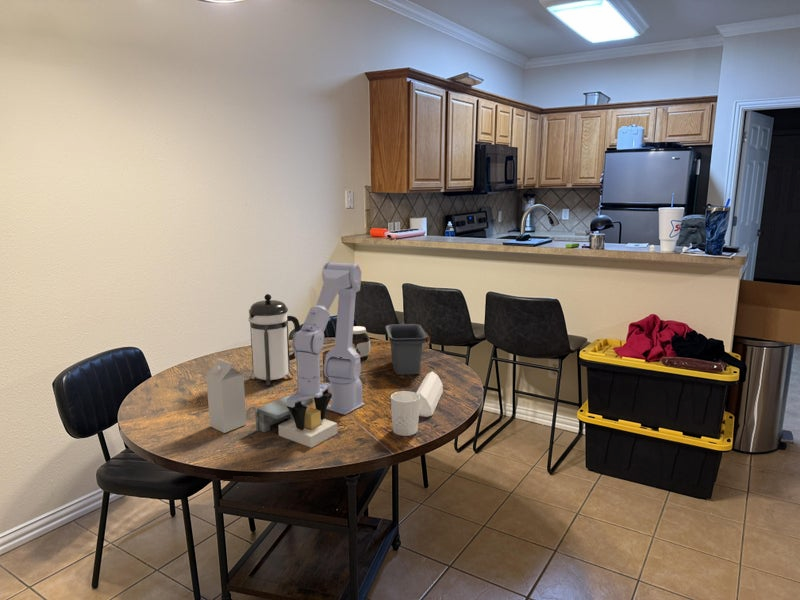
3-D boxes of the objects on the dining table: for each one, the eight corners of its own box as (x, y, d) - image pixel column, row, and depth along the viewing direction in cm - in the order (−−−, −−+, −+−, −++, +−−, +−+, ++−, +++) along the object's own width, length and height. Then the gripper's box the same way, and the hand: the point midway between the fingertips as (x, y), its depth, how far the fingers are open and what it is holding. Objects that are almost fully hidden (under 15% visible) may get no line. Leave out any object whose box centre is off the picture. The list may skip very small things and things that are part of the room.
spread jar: (370, 354, 216) (369, 325, 213) (370, 363, 205) (370, 333, 202) (339, 354, 215) (339, 326, 212) (338, 363, 204) (337, 333, 201)
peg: (311, 431, 147) (310, 407, 146) (321, 435, 145) (320, 410, 144) (302, 436, 144) (301, 411, 143) (311, 439, 142) (311, 415, 141)
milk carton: (232, 418, 155) (227, 355, 151) (246, 425, 151) (242, 360, 147) (209, 426, 150) (204, 361, 146) (224, 433, 146) (219, 366, 142)
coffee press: (291, 387, 180) (288, 298, 174) (244, 386, 180) (238, 298, 174) (302, 369, 197) (299, 288, 190) (258, 369, 197) (254, 288, 191)
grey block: (291, 414, 158) (290, 393, 157) (313, 421, 153) (312, 400, 152) (256, 430, 148) (254, 407, 146) (278, 439, 143) (277, 415, 141)
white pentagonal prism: (437, 408, 153) (449, 379, 176) (416, 394, 154) (431, 367, 177) (424, 427, 156) (438, 397, 178) (403, 414, 156) (420, 385, 179)
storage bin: (384, 359, 209) (384, 323, 206) (424, 358, 210) (424, 322, 207) (389, 378, 188) (389, 339, 185) (433, 376, 190) (434, 337, 187)
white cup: (418, 424, 152) (418, 390, 150) (420, 437, 144) (420, 401, 142) (390, 424, 151) (390, 391, 149) (391, 437, 144) (391, 402, 142)
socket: (305, 422, 153) (305, 412, 152) (337, 433, 146) (337, 423, 145) (278, 435, 145) (278, 425, 144) (311, 447, 138) (310, 436, 137)
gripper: (299, 386, 133) (301, 437, 136) (338, 370, 145) (339, 417, 148) (279, 380, 137) (282, 430, 140) (319, 365, 149) (320, 411, 152)
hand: (310, 423), depth 144 cm, fingers open, 7 cm apart
